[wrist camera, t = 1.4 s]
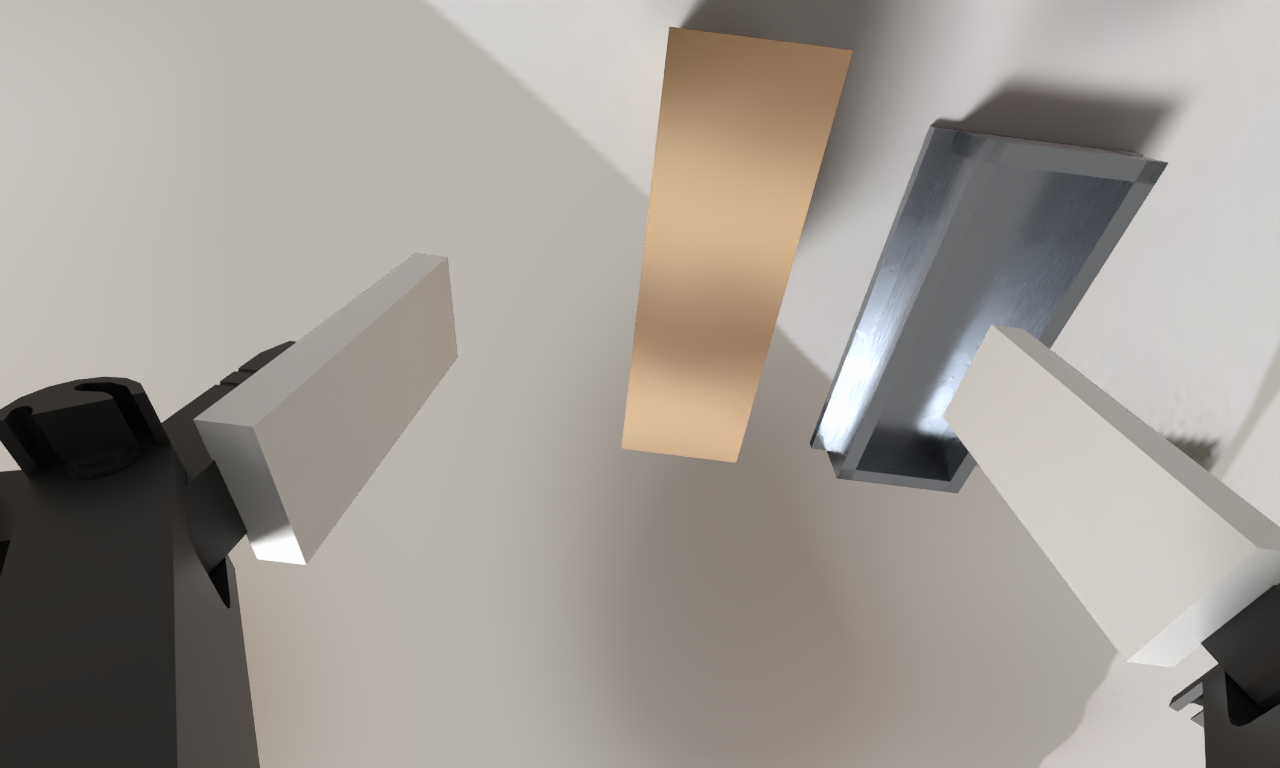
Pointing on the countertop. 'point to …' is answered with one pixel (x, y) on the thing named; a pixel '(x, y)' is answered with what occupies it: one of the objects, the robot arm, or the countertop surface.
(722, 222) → the panel
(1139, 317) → the countertop surface
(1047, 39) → the countertop surface
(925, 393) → the track
